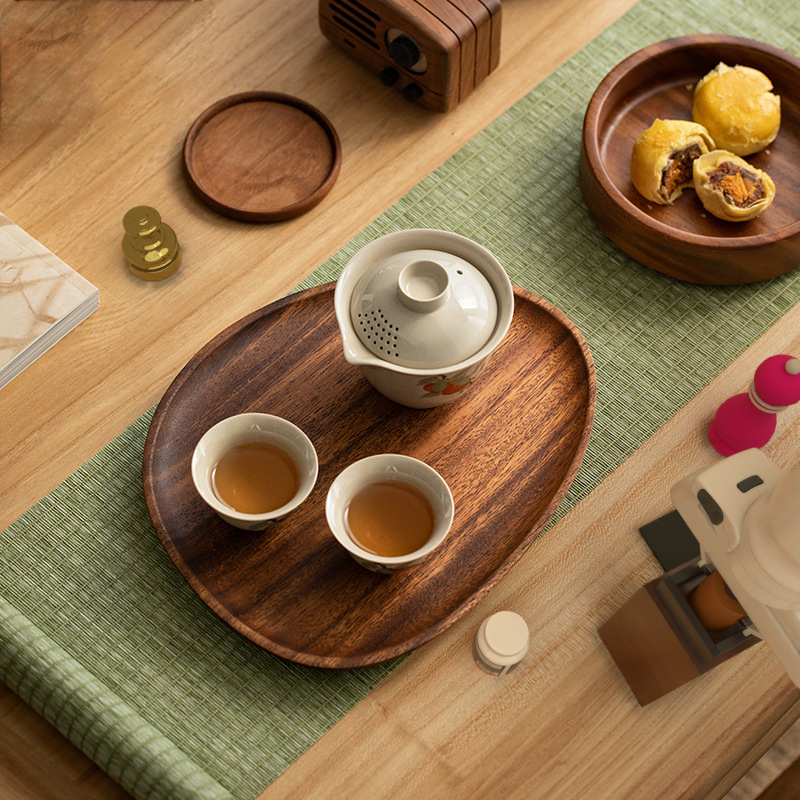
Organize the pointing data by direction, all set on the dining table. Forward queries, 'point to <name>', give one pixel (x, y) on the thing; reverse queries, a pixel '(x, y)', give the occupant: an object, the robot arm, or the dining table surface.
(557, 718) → the dining table surface
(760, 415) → the pepper mill
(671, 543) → the slate mat
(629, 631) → the stand
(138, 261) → the brass knob weight
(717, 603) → the amber bottle
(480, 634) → the pill bottle
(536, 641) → the dining table surface
